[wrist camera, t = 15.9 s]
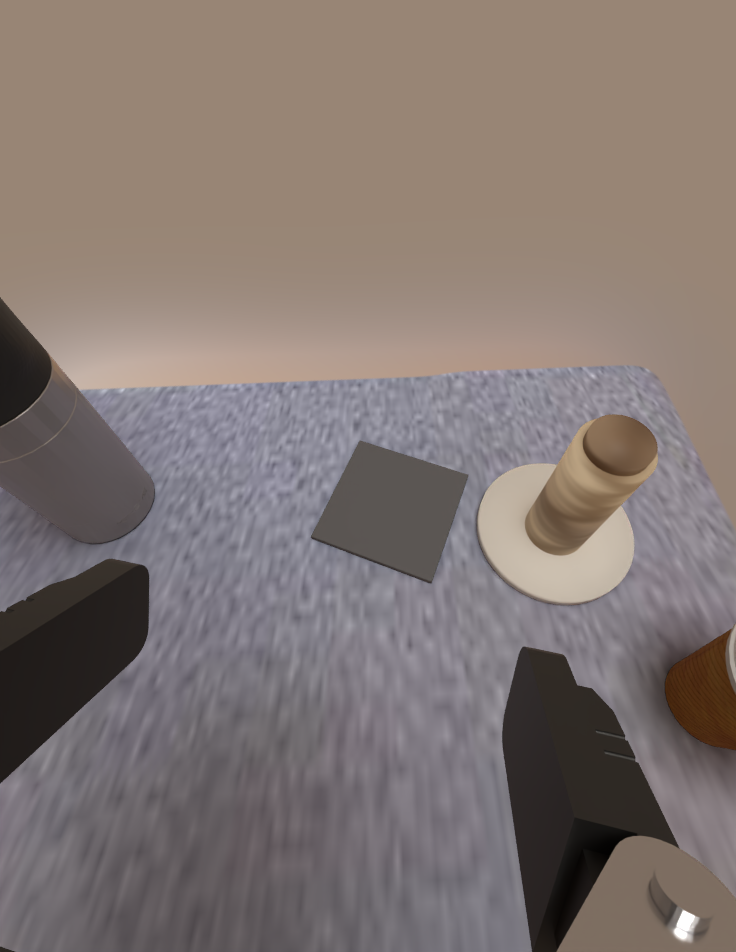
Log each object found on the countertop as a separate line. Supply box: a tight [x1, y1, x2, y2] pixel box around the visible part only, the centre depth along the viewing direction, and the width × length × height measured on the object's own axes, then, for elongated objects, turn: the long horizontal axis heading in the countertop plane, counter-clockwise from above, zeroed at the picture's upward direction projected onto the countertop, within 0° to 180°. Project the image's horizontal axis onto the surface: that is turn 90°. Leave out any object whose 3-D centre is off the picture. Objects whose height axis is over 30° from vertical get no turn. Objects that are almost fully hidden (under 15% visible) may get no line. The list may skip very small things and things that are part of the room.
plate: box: [477, 464, 634, 605], centre depth 43 cm, size 14×14×1 cm
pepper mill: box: [525, 415, 658, 556], centre depth 37 cm, size 5×5×14 cm
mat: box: [311, 441, 468, 583], centre depth 45 cm, size 12×12×1 cm
